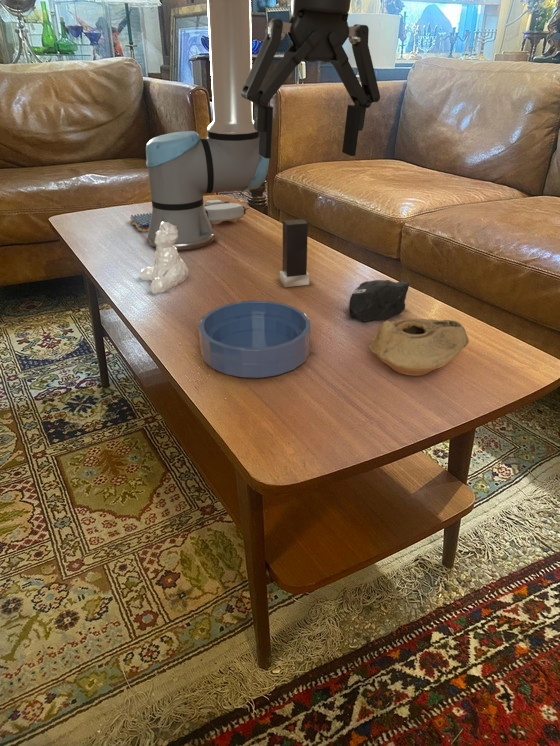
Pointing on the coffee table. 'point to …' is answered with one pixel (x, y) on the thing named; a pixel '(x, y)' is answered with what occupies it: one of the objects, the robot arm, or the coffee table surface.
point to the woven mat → (141, 221)
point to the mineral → (378, 299)
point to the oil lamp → (418, 344)
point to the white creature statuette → (165, 261)
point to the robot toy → (223, 211)
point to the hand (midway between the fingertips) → (307, 155)
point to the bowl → (254, 338)
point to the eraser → (294, 253)
